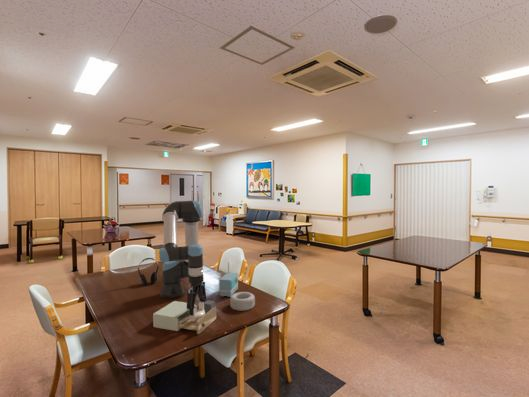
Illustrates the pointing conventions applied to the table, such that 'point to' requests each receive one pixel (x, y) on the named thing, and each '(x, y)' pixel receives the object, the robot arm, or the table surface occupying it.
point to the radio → (228, 284)
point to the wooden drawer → (199, 321)
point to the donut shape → (242, 301)
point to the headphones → (153, 276)
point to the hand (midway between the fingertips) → (197, 317)
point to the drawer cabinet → (171, 315)
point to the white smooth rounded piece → (199, 314)
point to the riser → (208, 305)
